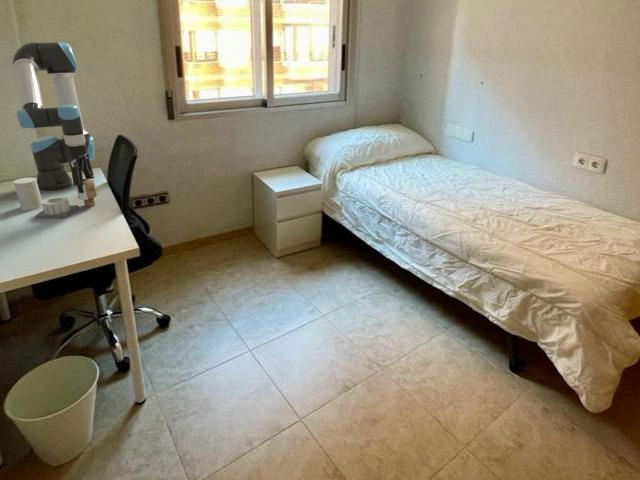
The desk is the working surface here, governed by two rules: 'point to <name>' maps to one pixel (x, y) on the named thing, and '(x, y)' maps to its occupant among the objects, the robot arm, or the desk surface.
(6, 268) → the desk surface
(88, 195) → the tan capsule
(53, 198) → the socket
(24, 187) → the cup
